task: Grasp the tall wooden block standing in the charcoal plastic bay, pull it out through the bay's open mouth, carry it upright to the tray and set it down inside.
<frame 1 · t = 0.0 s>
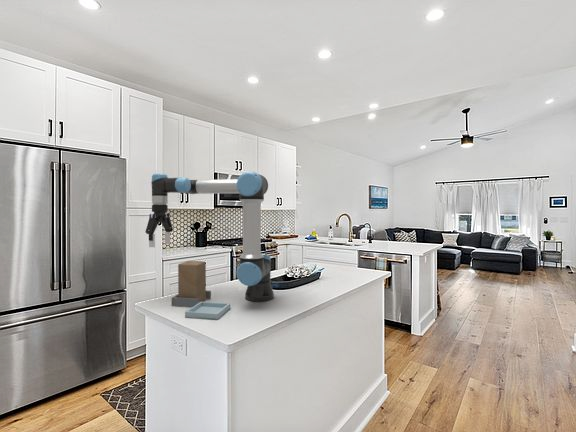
hand: (160, 245, 159), 28 cm above the countertop, fingers open, 13 cm apart
wooden block: (192, 302, 156), on the countertop
tray: (208, 312, 140), on the countertop
bay: (192, 302, 156), on the countertop
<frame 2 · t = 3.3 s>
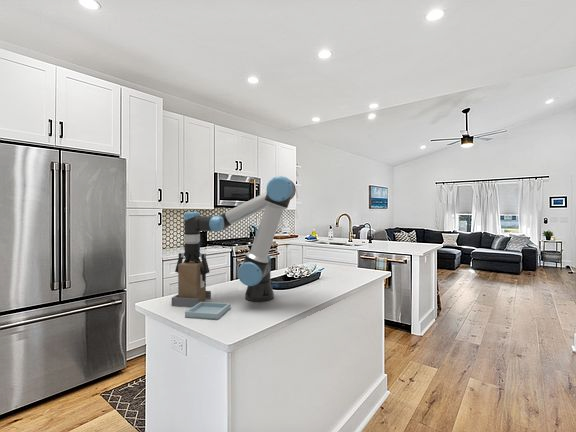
hand: (192, 286, 156), 8 cm above the countertop, fingers closed on wooden block, 10 cm apart
wooden block: (192, 302, 156), on the countertop, touching gripper
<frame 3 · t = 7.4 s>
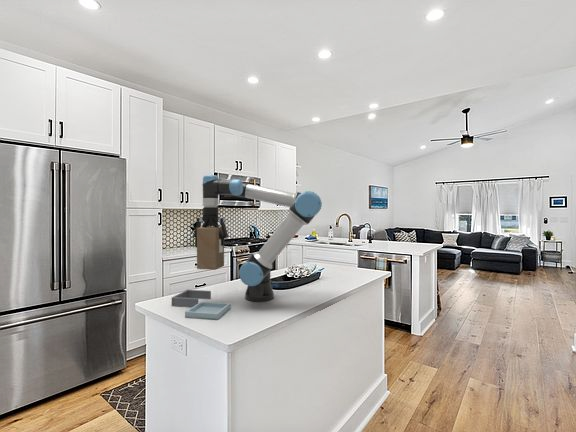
hand: (210, 251, 153), 26 cm above the countertop, fingers closed on wooden block, 10 cm apart
wooden block: (210, 268, 153), point 18 cm above the countertop, touching gripper
when the fingers open (10 cm above the countertop, at t = 11.9 s): wooden block drops 1 cm, resting on tray.
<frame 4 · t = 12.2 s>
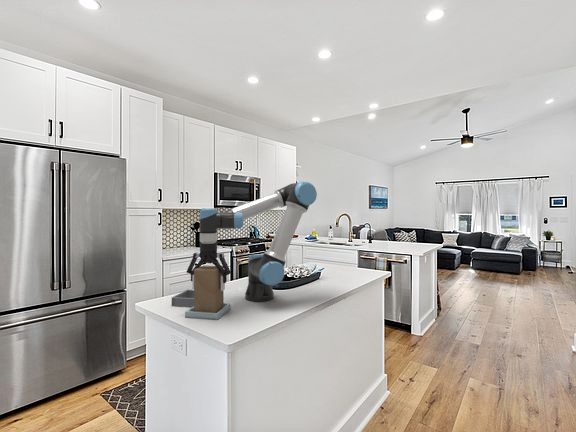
hand: (208, 289, 140), 11 cm above the countertop, fingers open, 13 cm apart
wooden block: (209, 312, 140), resting on tray
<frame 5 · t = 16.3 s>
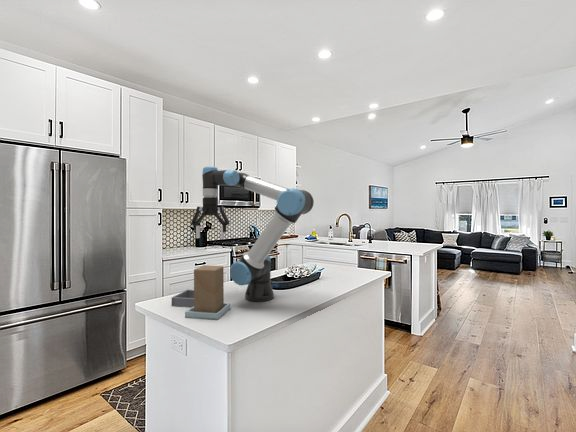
hand: (210, 238, 160), 32 cm above the countertop, fingers open, 13 cm apart
nothing on the countertop moved.
at the end: wooden block inside the target area on the tray (0.2 cm from its centre), point 0.4 cm above the tray's base; wooden block tilted 0°; the gripper is holding nothing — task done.
